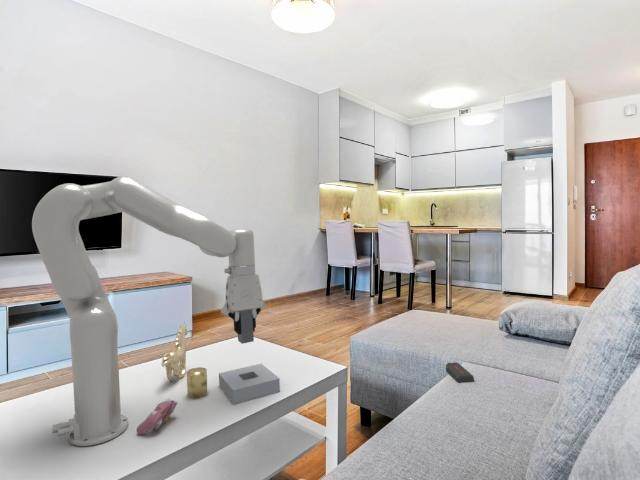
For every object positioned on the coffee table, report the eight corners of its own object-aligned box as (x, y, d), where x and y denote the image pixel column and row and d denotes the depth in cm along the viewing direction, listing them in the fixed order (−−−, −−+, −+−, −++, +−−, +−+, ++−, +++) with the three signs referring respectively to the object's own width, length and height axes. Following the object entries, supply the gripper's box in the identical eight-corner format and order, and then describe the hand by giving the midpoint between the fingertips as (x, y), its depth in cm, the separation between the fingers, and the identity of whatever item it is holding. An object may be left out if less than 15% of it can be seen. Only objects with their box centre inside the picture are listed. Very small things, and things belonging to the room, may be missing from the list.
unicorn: (170, 392, 111) (168, 336, 111) (157, 393, 111) (155, 336, 111) (193, 366, 131) (191, 318, 131) (182, 367, 131) (180, 318, 131)
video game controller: (149, 443, 89) (160, 418, 88) (133, 433, 89) (144, 408, 88) (172, 421, 98) (182, 399, 97) (158, 412, 99) (168, 390, 98)
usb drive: (457, 384, 114) (457, 375, 114) (442, 368, 126) (442, 360, 126) (474, 383, 115) (474, 374, 114) (457, 368, 127) (457, 360, 126)
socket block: (233, 404, 103) (233, 390, 103) (219, 385, 115) (218, 373, 115) (279, 391, 111) (279, 378, 110) (261, 375, 123) (261, 363, 122)
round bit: (189, 400, 106) (188, 376, 106) (185, 393, 111) (184, 370, 111) (209, 395, 109) (208, 372, 109) (204, 388, 114) (203, 366, 114)
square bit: (242, 343, 109) (240, 309, 108) (238, 340, 112) (236, 307, 112) (253, 341, 111) (252, 307, 110) (249, 338, 114) (247, 305, 113)
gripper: (217, 275, 103) (221, 340, 104) (273, 269, 111) (275, 330, 112) (210, 272, 109) (214, 334, 110) (263, 267, 118) (266, 324, 119)
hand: (245, 331), depth 111 cm, fingers closed on square bit, 3 cm apart
